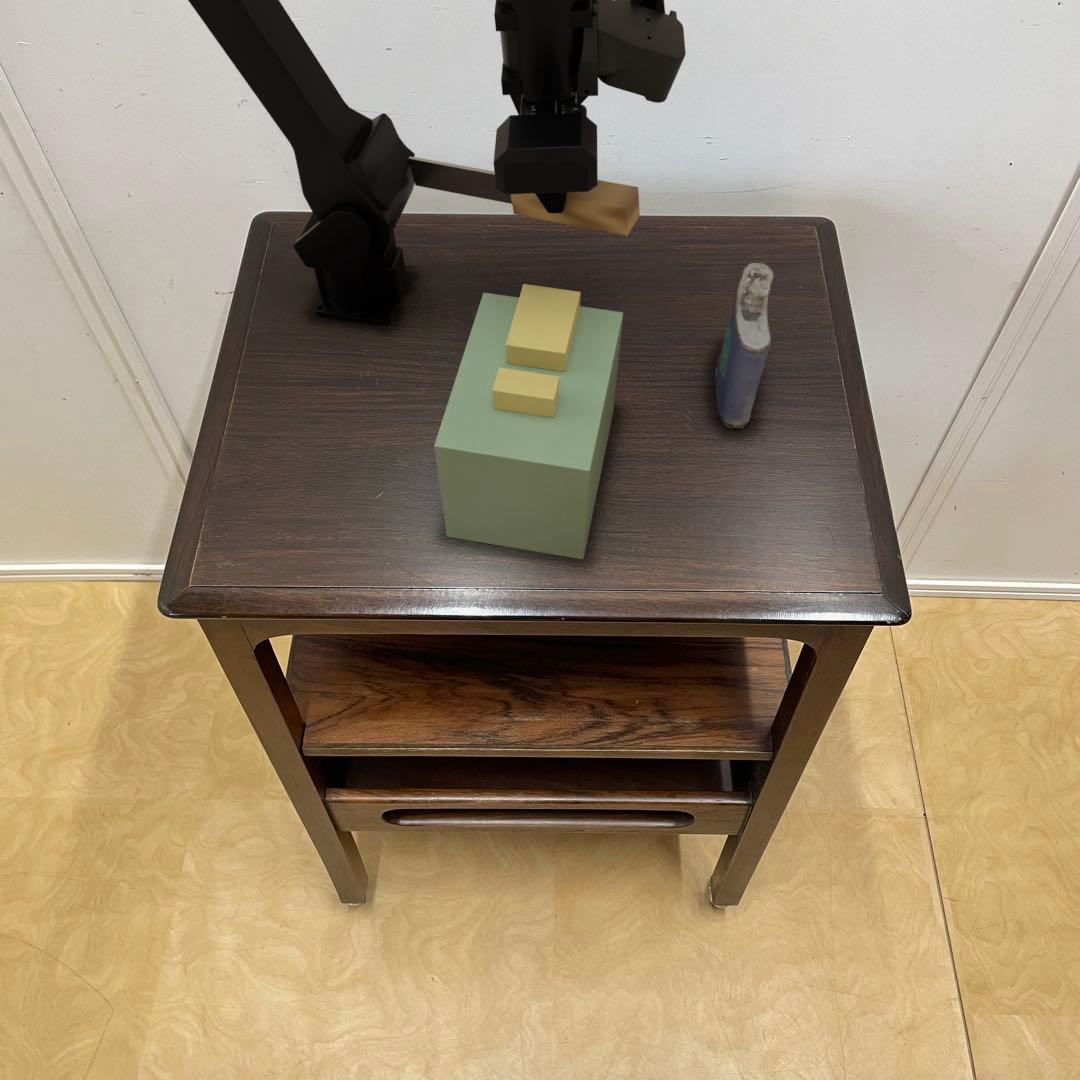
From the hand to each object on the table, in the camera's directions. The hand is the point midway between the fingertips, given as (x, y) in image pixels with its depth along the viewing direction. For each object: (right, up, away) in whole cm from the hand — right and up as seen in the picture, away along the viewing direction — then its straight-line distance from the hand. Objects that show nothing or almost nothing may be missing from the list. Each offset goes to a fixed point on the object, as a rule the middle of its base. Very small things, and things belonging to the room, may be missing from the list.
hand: (556, 196), depth 72 cm
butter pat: (-2, -16, -7) cm, 17 cm away
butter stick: (-1, -11, -4) cm, 12 cm away
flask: (+14, -12, +8) cm, 21 cm away
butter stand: (-2, -20, +3) cm, 20 cm away
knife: (-3, 0, +2) cm, 3 cm away
